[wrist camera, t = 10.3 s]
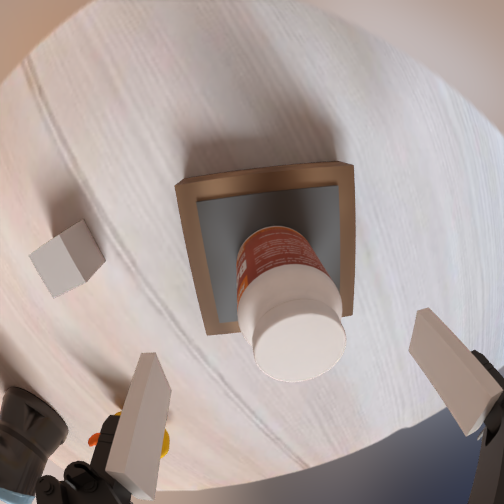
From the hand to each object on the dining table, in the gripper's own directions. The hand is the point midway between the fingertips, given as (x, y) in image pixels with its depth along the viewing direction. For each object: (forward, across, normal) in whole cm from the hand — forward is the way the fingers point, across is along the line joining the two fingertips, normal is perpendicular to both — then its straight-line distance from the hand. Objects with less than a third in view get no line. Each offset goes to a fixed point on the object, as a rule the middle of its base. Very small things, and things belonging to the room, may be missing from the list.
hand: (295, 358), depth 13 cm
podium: (+16, +1, 0) cm, 16 cm away
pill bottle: (+12, +1, 0) cm, 12 cm away
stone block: (+16, -19, +2) cm, 25 cm away
